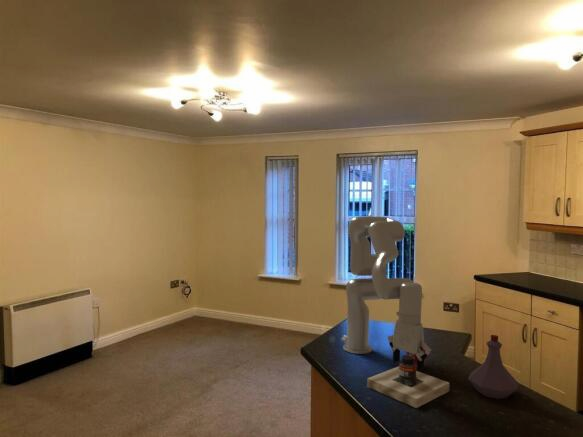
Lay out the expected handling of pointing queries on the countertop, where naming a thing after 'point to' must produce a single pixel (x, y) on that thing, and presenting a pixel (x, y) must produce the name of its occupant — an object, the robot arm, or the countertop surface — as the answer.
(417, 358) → the soda can
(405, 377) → the supplement bottle
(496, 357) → the flask
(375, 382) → the socket board
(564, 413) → the countertop surface
